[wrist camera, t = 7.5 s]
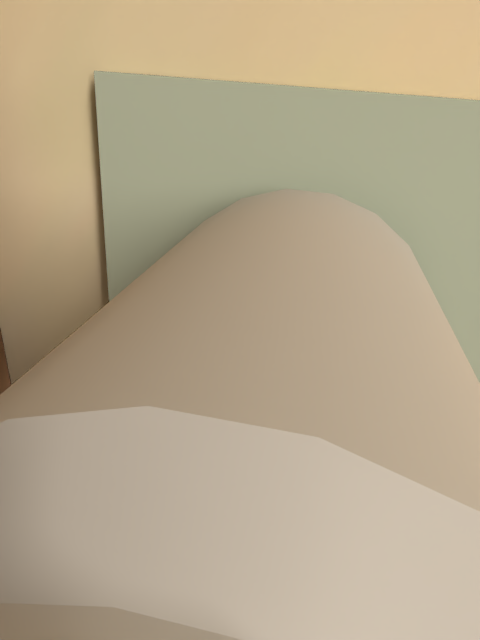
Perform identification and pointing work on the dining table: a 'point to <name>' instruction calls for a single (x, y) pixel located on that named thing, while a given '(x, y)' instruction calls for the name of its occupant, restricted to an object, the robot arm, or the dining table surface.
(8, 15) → the dining table surface
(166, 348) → the can
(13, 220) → the dining table surface
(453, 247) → the mat
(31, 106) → the dining table surface
